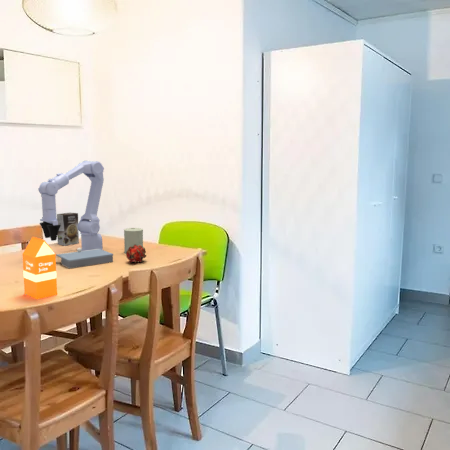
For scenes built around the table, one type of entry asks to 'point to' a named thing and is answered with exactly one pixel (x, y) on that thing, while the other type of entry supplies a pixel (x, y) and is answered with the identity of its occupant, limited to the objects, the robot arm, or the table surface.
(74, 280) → the table surface
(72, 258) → the lid
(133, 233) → the can
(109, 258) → the grey hinged box
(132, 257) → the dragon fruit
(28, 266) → the orange juice
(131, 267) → the table surface
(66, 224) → the coffee box
